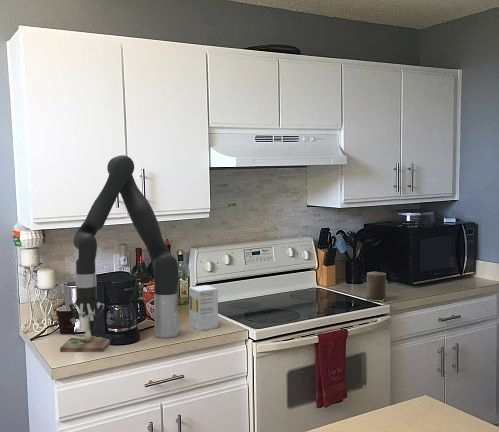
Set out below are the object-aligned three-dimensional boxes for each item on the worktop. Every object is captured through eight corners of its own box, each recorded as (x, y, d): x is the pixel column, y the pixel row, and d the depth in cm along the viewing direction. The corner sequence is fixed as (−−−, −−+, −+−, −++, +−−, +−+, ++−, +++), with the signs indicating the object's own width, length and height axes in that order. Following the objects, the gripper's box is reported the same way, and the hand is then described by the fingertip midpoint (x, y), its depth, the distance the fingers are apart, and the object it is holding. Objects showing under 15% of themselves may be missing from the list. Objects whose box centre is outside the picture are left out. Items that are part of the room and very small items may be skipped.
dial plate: (114, 338, 229) (114, 334, 229) (103, 351, 213) (103, 347, 213) (73, 338, 229) (73, 334, 229) (60, 351, 213) (60, 347, 213)
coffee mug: (61, 336, 232) (60, 312, 232) (54, 331, 239) (53, 307, 239) (89, 331, 239) (88, 307, 238) (81, 326, 246) (81, 303, 245)
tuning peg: (95, 338, 224) (94, 314, 223) (85, 342, 218) (84, 318, 217) (77, 336, 227) (76, 312, 226) (66, 340, 221) (66, 316, 220)
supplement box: (188, 325, 247) (188, 286, 246) (207, 322, 252) (207, 284, 251) (199, 331, 239) (198, 290, 238) (218, 327, 244) (218, 288, 243)
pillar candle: (381, 303, 286) (382, 273, 285) (363, 300, 291) (363, 271, 290) (388, 299, 294) (389, 270, 293) (369, 297, 299) (370, 268, 298)
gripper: (107, 283, 223) (108, 327, 224) (71, 282, 223) (73, 326, 225) (101, 287, 215) (102, 332, 217) (64, 286, 216) (65, 332, 218)
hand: (87, 329), depth 221 cm, fingers closed on tuning peg, 3 cm apart
